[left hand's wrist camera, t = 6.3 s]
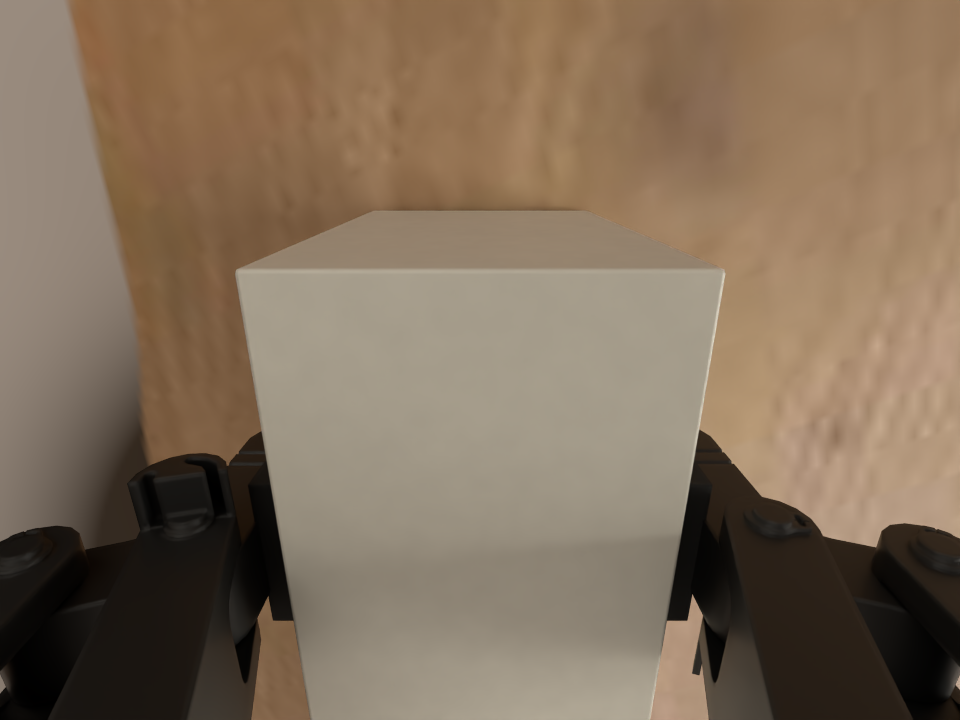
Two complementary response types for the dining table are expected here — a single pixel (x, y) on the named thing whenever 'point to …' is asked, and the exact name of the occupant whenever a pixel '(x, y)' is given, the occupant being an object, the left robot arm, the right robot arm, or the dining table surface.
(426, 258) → the bar
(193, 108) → the dining table surface
